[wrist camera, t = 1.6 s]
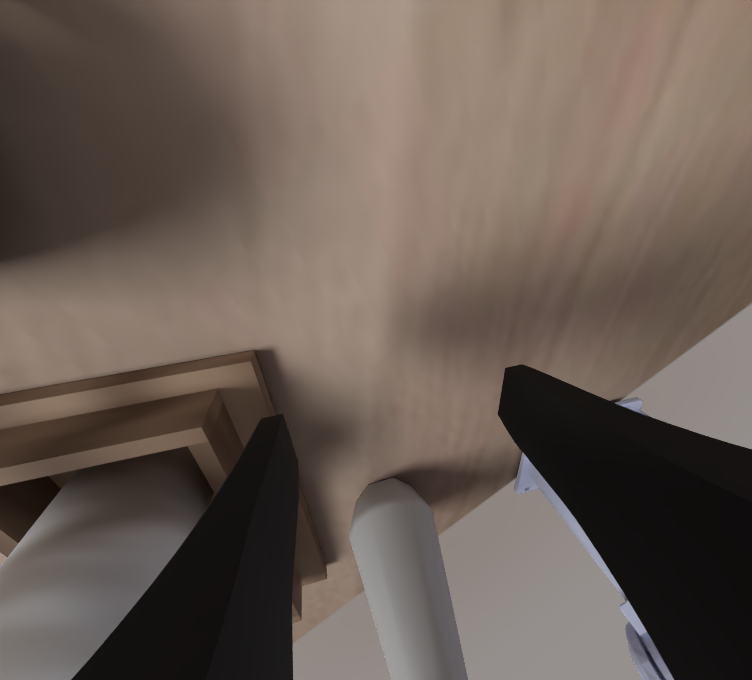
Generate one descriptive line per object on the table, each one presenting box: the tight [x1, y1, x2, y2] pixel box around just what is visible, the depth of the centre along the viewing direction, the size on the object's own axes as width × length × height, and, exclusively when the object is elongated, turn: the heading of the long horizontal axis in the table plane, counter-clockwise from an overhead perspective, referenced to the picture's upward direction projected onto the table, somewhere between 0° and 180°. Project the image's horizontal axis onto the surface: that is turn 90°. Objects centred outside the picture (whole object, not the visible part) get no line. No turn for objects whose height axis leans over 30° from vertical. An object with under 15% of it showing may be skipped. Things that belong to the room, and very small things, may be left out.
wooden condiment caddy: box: [0, 350, 327, 680], centre depth 14 cm, size 13×21×9 cm, turn 5°
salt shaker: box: [350, 478, 468, 680], centre depth 16 cm, size 6×6×13 cm
